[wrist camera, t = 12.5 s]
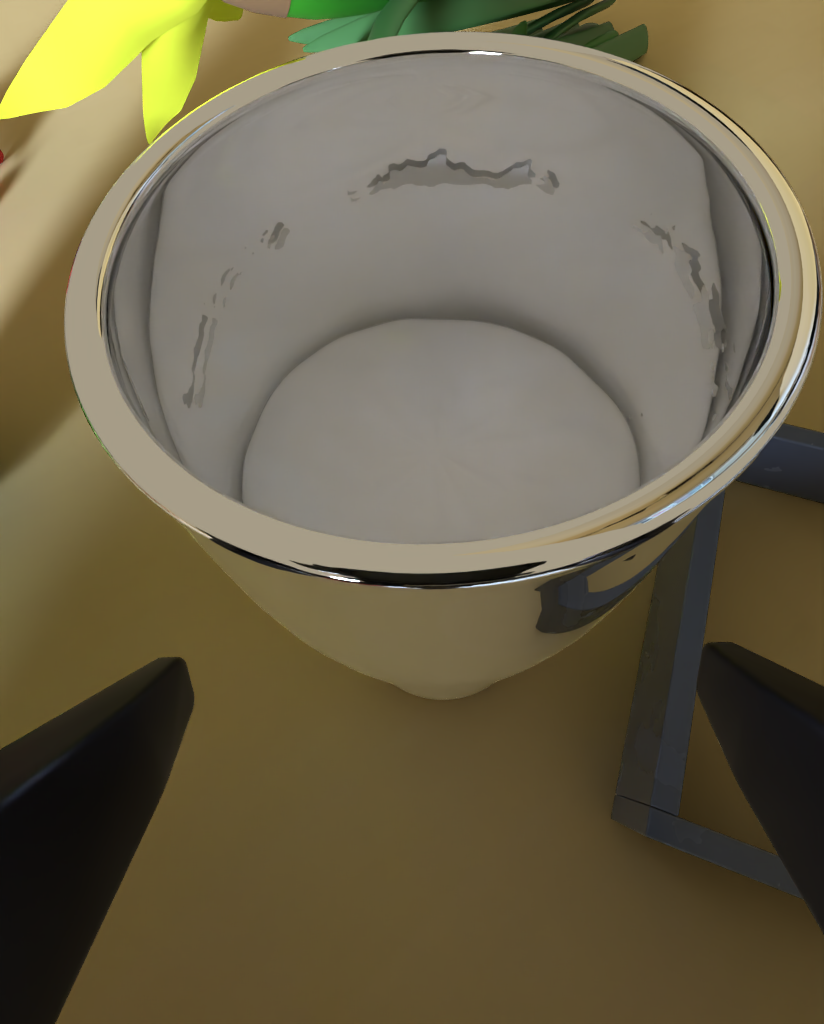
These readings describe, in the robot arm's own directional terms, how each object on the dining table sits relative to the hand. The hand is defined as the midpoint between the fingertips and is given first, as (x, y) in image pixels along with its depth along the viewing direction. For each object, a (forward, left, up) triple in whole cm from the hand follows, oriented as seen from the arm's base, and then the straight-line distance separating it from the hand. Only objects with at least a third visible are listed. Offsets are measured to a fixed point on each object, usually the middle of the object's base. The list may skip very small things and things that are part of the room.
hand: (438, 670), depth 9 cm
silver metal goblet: (+3, -1, -9) cm, 10 cm away
